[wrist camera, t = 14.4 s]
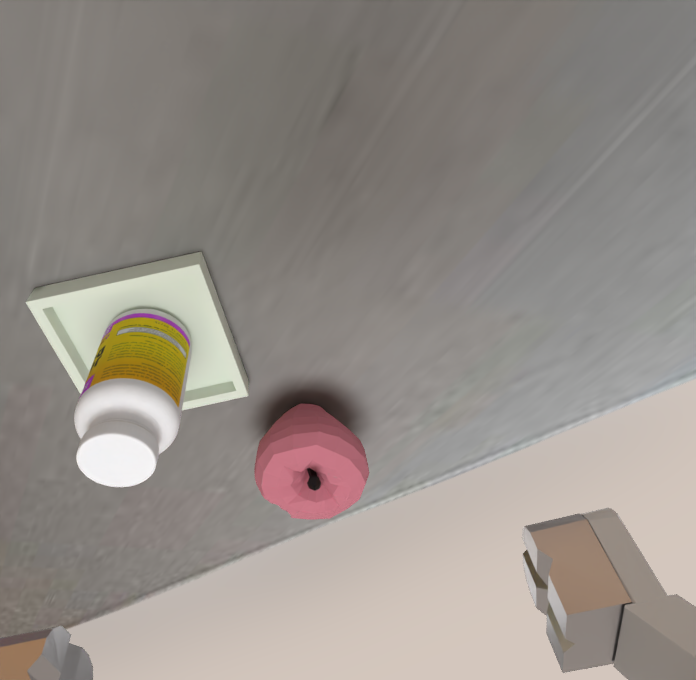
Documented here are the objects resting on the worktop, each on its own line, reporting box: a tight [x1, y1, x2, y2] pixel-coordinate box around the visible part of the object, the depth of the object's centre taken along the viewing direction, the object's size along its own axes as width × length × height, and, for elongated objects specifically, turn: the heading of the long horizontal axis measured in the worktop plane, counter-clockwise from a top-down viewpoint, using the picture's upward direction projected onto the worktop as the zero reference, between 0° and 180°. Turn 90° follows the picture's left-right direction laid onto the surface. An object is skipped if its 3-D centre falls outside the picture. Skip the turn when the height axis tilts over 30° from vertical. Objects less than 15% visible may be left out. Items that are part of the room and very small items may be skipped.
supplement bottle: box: [74, 309, 192, 487], centre depth 41 cm, size 7×7×13 cm
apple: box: [255, 404, 369, 519], centre depth 50 cm, size 10×9×10 cm
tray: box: [26, 252, 249, 410], centre depth 46 cm, size 13×13×2 cm
